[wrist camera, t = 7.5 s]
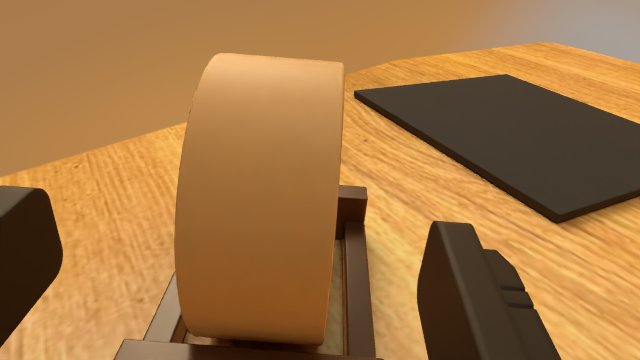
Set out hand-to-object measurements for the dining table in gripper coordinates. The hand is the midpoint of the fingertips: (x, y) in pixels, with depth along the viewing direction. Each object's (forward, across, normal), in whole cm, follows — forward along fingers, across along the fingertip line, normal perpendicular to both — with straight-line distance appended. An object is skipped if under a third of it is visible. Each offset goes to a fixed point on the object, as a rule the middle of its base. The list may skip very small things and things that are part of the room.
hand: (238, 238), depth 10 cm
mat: (+29, -18, +8) cm, 35 cm away
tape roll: (+6, 0, +8) cm, 10 cm away
